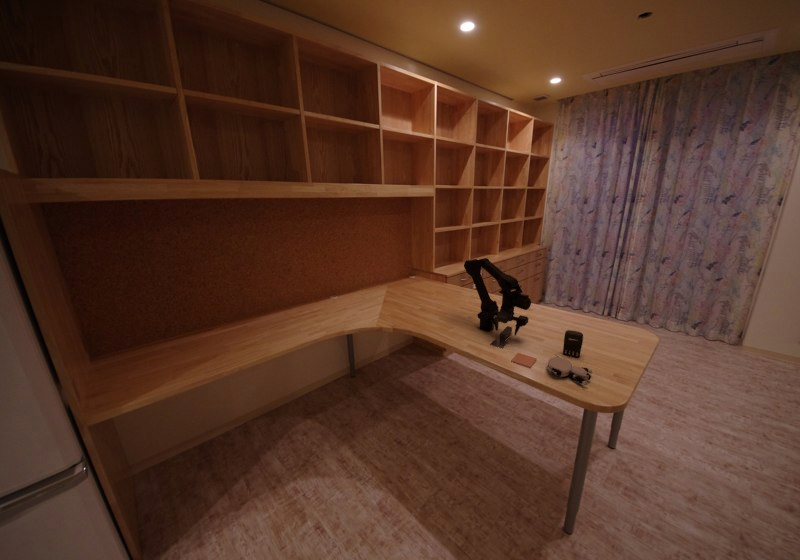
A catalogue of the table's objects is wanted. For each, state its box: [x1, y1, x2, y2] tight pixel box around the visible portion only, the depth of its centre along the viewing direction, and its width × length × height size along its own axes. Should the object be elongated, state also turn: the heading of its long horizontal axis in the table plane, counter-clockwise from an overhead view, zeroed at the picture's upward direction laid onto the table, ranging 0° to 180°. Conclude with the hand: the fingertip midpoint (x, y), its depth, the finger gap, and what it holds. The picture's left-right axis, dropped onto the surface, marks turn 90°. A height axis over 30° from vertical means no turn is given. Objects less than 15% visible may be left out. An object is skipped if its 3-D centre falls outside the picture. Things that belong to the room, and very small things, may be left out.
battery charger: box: [562, 329, 584, 359], centre depth 127 cm, size 7×4×11 cm, turn 57°
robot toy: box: [545, 354, 594, 386], centre depth 114 cm, size 12×4×15 cm
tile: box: [510, 352, 538, 369], centre depth 125 cm, size 8×1×8 cm
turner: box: [489, 325, 513, 350], centre depth 143 cm, size 6×17×4 cm, turn 140°
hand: (505, 332), depth 146 cm, fingers open, 9 cm apart
